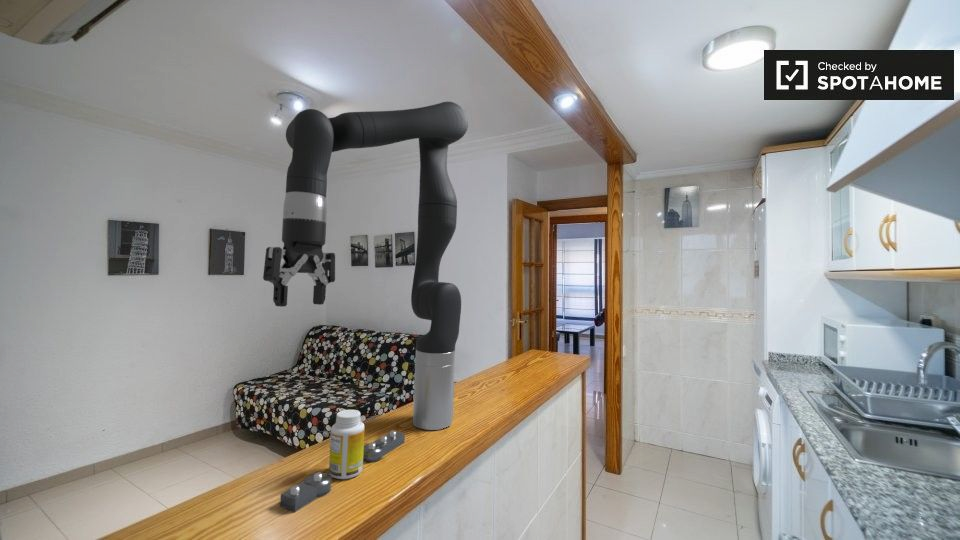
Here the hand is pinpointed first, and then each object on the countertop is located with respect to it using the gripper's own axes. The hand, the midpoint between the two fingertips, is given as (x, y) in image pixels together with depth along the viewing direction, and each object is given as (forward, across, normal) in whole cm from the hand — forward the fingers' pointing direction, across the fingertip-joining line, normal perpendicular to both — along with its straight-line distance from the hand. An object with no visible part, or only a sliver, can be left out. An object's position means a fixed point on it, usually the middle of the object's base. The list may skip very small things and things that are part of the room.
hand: (300, 305), depth 73 cm
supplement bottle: (+28, 0, -13) cm, 31 cm away
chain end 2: (+28, +10, -13) cm, 32 cm away
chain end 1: (+28, -9, -13) cm, 32 cm away
